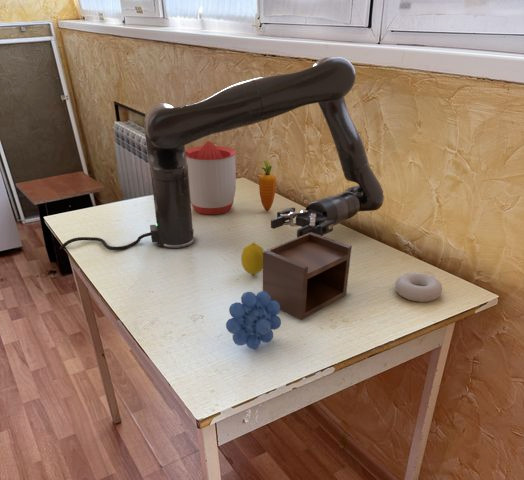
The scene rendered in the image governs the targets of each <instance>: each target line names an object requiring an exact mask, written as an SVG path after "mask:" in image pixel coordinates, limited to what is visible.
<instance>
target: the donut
mask: <svg viewBox="0 0 524 480" xmlns="http://www.w3.org/2000/svg"><path fill="white" fill-rule="evenodd" d="M394 285H395V286H394V287H395V291H396V292H397V294H398V295H399V296H401V297H402V298H404V299H406V300H409V301H413V302H419V303H429V302H433V301H435V300H436V299H438V298H439V297H440V296H441V294H442V292H443V285H442V283H441V282H440V280H439V279H438V278H436V277H435V276H433V275H430V274H428V273H423V272H407V273H404V274H402V275H400V276H399V277H398V278H397V279H396V281H395V284H394Z"/></svg>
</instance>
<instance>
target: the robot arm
mask: <svg viewBox="0 0 524 480" xmlns="http://www.w3.org/2000/svg"><path fill="white" fill-rule="evenodd" d="M356 78H357V75H356V69H355V66H354V65H353V63H351V62H350V61H349V60H348V59H346V58H345V57H343V56H339V55H337V56H327V57H322V58H319V59H318V60H316V61H315V63H313V65H312V66H311V67H308V68H305V69H303V70H298V71H296V72H289V73H281V74H274V75H266V76H262V77H261V76H260V77H256V78H253V79H249V80H246V81H241V82H238V83H235V84H233V85H230V86H228V87H226V88H224V89H222V90H221V91H219V92H217V93H215V94H213V95H212V96H210V97H208V98H206V99H203V100H201V101H199V102H196V103H195V102H194V103H191V104H186V105H182V106H181V105H180V106H175V107H174V106H173V105H171V104H168V103H164V102H163V103H162V102H160V103H156V104H154V105H152V106H151V107H149V108H148V110H147V111H146V113H145V114H144V119H143V128H144V129H143V130H144V138H145V146H146V151H147V160H148V165H149V173H150V179H151V185H152V186H151V187H152V194H153V196H152V197H153V203H154V213H155V221H156V223H155V224H150V225H149V229H150V231H149V232H147V233H142V234H141V235H139V236H138V237H137V238H136V240H134V241H133V242H131V243H129V244H126V245H121V246H112V245H109V244H107V242H106V241H105V239H103V238H101V237H92V236H78V237H73V238H70V239H68V240H67V241H65V242H63V243H62V244H61V246H60V247H59V250H63V249H65V248H66V247H67V246H68V245H71V244H72V243H74V242H75V243H76V242H80V241H92V242H100V243H102V245H103V247H105V249H108V250H112V251H122V250H126V249H129V248H131V247H134V246H136V245H138V244H139V243H140V242H141V240H142V239H145V238H146V237H147V238H148V237H150V238H151V243H158V245H159V248H168V249H183V248H186V247H188V246H189V247H190V246H191V245H193V243H194V242H195V237H194V227H193V226H194V225H193V214H192V204H191V199H190V186H189V174H188V164H187V160H186V154H185V150H186V148H185V147H186V145H188V144H191V143H193V142H196V141H198V140H201V139H202V138H205V137H208V136H211V135H215V134H220V133H224V132H228V131H232V130H236V129H239V128H240V129H241V128H243V127H248V126H251V125H255V124H257V123H261V122H264V121H267V120H270V119H272V118H275V117H278V116H281V115H284V114H286V113H289V112H291V111H293V110H296V109H298V108H302V107H304V106H309V105H313V104H318V106H319V108H320V110H321V112H322V114H323V117H324V119H325V121H326V124H327V127H328V129H329V132H330V135H331V137H332V140H333V143H334V146H335V150H336V154H337V156H338V160H339V164H340V166H341V170H342V173H343V177H344V179H345V180H347V181H348V182H353V183H356V184H357V185H354V186H350V187H348V188H346V189H345V190H344V191H342V192H339V193H337V194H334V195H329V196H326V197H323V198H320V199H318V200H317V199H316V200H315V201H311V202H310V203H309V204H308V205H307V207H306V208H305V209H302V210H299V211H296V207H289V208H286V209H283V210H280V211H277V212H276V217H275V218H273V219H271V220H270V228H271V230H275V229H278V228H280V227H283V226H289V227H293V228H294V227H300V228H298V229H296V238H298V237H300V236H303V235H305V234H308V233H310V232H312V233H315V234H318V235H321V236H325V235H328V234H330V233H332V232H333V231H334V226H337V225H340V224H341V223H342V222H345V221H346V220H349V219H352V218H353V217H355V216H356V215H357V214H358V213H359V212H373V211H377V210H380V209H381V207H382V206H383V204H384V201H385V194H384V195H383V192H384V190H382V189H383V187H382V184H381V183H380V181H379V179H378V177H377V176H376V175H375V173H374V171H373V170H372V168H371V166H370V163H369V159H368V155H367V152H366V148H365V144H364V141H363V139H362V138H361V135H360V133H359V131H358V128H357V127H356V125H355V123H354V122H353V120H352V117H351V115H350V112H349V110H348V107H347V102H346V99H345V96H347V95H348V94H349V93H350V92H351V91H352V89H353V87H354V85H355V83H356ZM381 187H382V188H381ZM294 219H295V222H294Z"/></svg>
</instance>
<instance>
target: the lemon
mask: <svg viewBox="0 0 524 480" xmlns="http://www.w3.org/2000/svg"><path fill="white" fill-rule="evenodd" d="M263 251H264V248H263V247H262V246H260V244H258V243H255V242H251V243H250V244H247V245H246V246H245V247H244V248H243V250H242V253H241V259H240V261H241V265H242V268H243V270H244V271H245V272H246V273H248V274H250V275H251V276H255V275H257V274H259V273H260V272H262V271H263Z"/></svg>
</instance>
